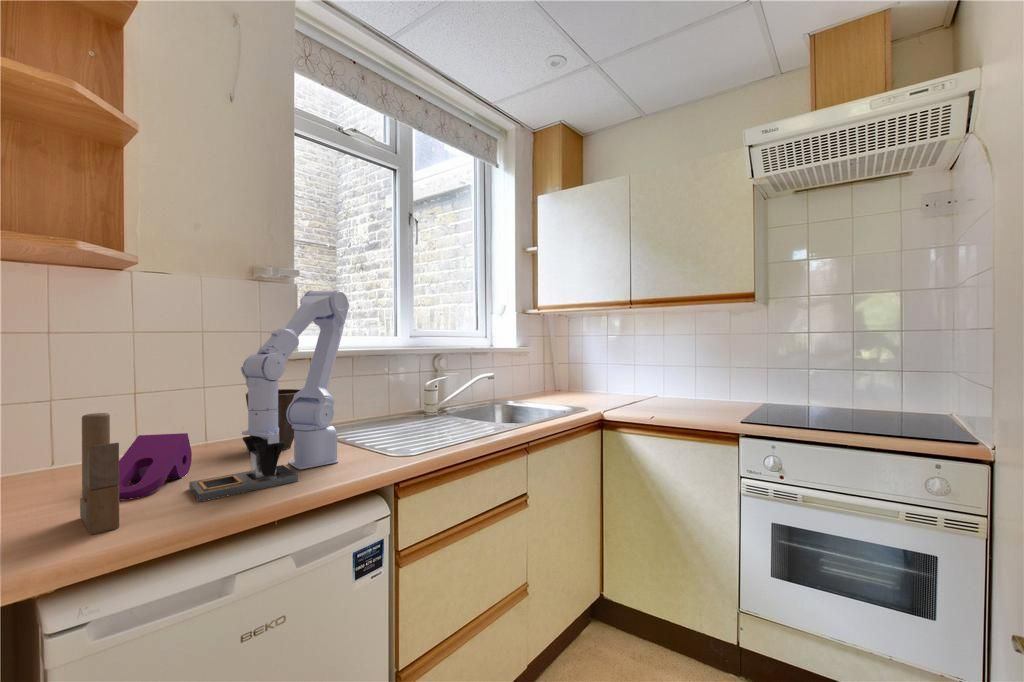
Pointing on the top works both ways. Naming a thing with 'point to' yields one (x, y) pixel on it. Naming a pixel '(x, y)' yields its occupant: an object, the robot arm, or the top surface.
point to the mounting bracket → (153, 463)
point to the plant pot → (284, 415)
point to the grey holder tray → (239, 483)
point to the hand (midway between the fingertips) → (263, 471)
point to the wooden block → (99, 475)
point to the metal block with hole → (257, 467)
